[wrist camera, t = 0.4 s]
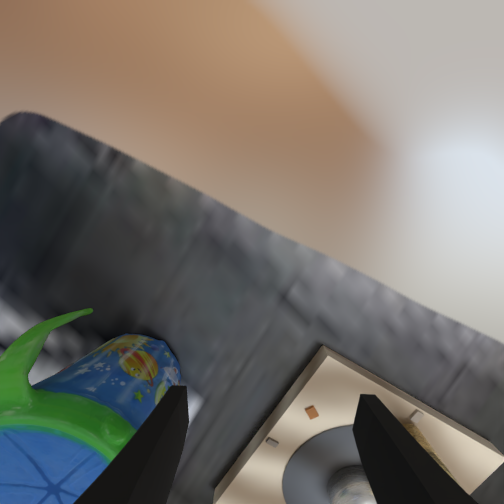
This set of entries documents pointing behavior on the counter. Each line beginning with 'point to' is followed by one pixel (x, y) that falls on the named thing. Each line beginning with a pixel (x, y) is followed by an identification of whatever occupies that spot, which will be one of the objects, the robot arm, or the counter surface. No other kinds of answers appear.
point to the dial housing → (339, 437)
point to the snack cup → (74, 411)
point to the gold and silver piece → (355, 480)
